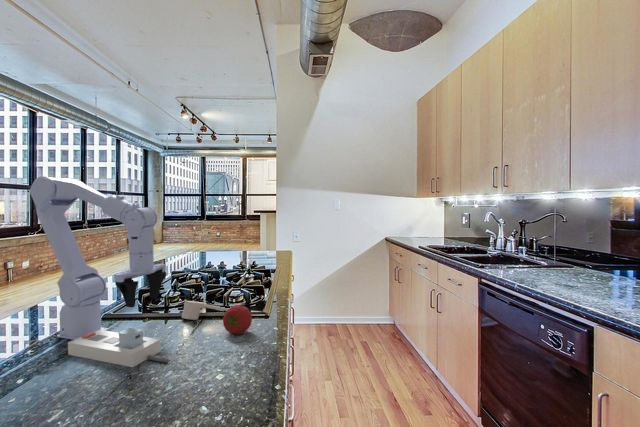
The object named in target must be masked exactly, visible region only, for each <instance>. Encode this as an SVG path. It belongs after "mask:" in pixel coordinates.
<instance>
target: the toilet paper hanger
mask: <svg viewBox="0 0 640 427" xmlns="http://www.w3.org/2000/svg"><path fill="white" fill-rule="evenodd" d="M183 306H184V307H183V311H182V314H181V318H182V319H186V320H194V321H195V320H199V317H200V316H199V315H200V314H201V313H200V311H201V309H211V310H217V311H225V312H226V311H227V310H228V309H229V308H225V307H220V306H215V305H210V304H207V303H203V302H199V301H193V300H184V303H183Z"/></svg>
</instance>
